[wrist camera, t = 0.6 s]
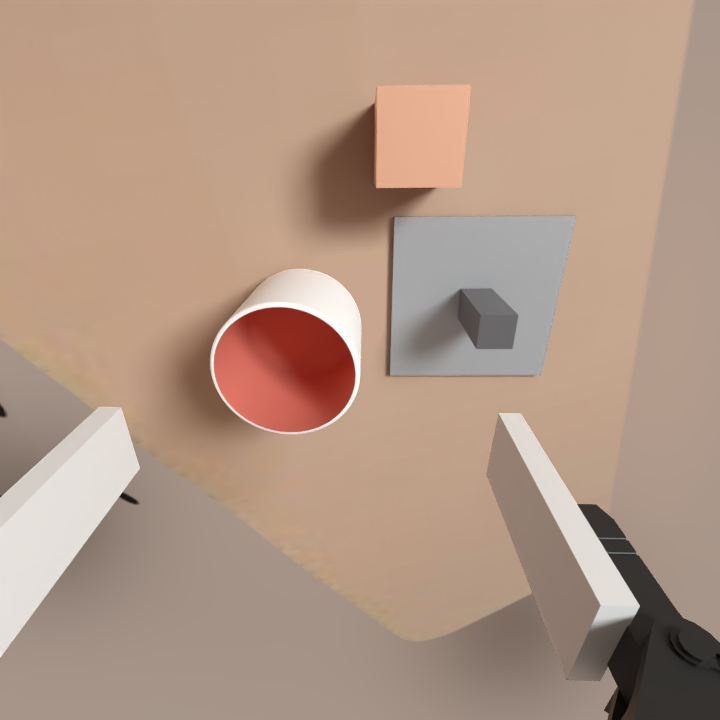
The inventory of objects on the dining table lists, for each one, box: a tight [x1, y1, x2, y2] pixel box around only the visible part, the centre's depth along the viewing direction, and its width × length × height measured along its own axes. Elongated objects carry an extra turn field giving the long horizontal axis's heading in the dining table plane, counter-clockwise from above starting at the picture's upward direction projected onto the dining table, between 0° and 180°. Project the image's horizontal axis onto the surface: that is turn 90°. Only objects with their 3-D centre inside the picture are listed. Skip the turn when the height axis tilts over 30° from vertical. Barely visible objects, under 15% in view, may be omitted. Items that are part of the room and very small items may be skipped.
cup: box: [210, 269, 361, 435], centre depth 31 cm, size 10×10×10 cm
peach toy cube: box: [374, 85, 471, 188], centre depth 26 cm, size 5×5×7 cm
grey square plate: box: [390, 215, 576, 376], centre depth 31 cm, size 14×14×7 cm
